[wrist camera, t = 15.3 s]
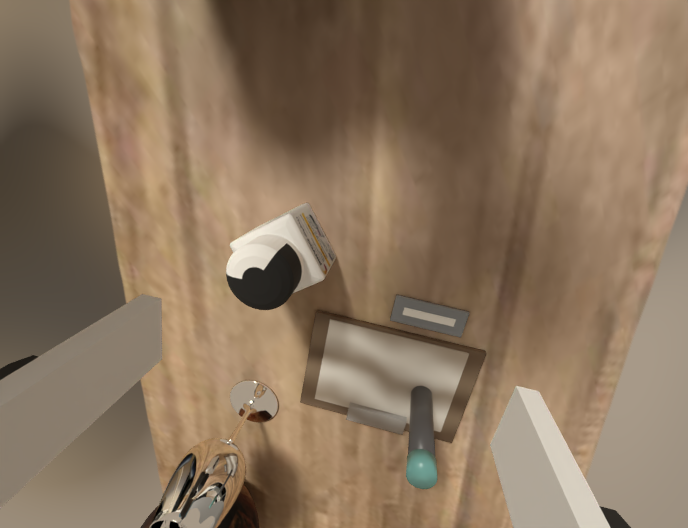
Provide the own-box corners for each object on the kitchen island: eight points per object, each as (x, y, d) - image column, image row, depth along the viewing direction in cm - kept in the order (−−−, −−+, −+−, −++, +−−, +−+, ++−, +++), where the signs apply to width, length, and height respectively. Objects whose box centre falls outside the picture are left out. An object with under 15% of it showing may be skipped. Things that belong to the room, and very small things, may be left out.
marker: (408, 385, 47) (403, 464, 35) (431, 384, 47) (434, 464, 35) (412, 405, 48) (409, 488, 36) (434, 403, 47) (439, 489, 35)
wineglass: (230, 373, 53) (134, 502, 34) (280, 384, 52) (211, 522, 33) (229, 415, 55) (140, 555, 37) (277, 426, 54) (211, 575, 36)
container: (337, 257, 44) (312, 302, 32) (285, 280, 46) (243, 330, 34) (308, 200, 42) (270, 225, 30) (255, 227, 44) (200, 260, 32)
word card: (396, 294, 44) (396, 296, 44) (468, 311, 44) (469, 313, 43) (390, 318, 46) (390, 320, 45) (460, 335, 45) (461, 337, 44)
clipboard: (317, 309, 47) (314, 315, 45) (485, 351, 45) (488, 358, 43) (301, 399, 52) (298, 407, 51) (451, 439, 50) (452, 448, 49)
